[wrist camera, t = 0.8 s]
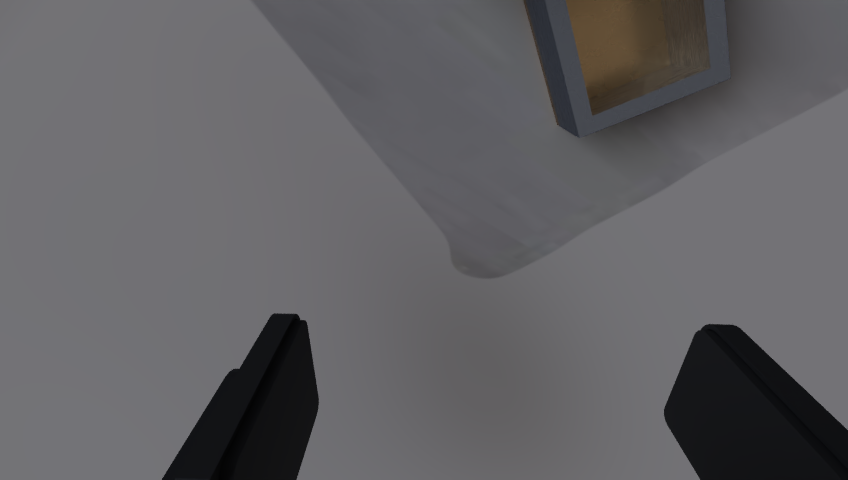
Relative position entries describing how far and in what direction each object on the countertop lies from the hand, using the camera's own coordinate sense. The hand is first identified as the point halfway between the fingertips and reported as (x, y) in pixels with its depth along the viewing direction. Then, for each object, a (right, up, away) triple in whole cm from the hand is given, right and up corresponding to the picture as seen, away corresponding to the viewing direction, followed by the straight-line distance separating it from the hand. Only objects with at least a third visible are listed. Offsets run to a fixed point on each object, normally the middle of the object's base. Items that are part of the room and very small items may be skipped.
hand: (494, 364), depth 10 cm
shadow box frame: (+12, +19, +21) cm, 31 cm away
